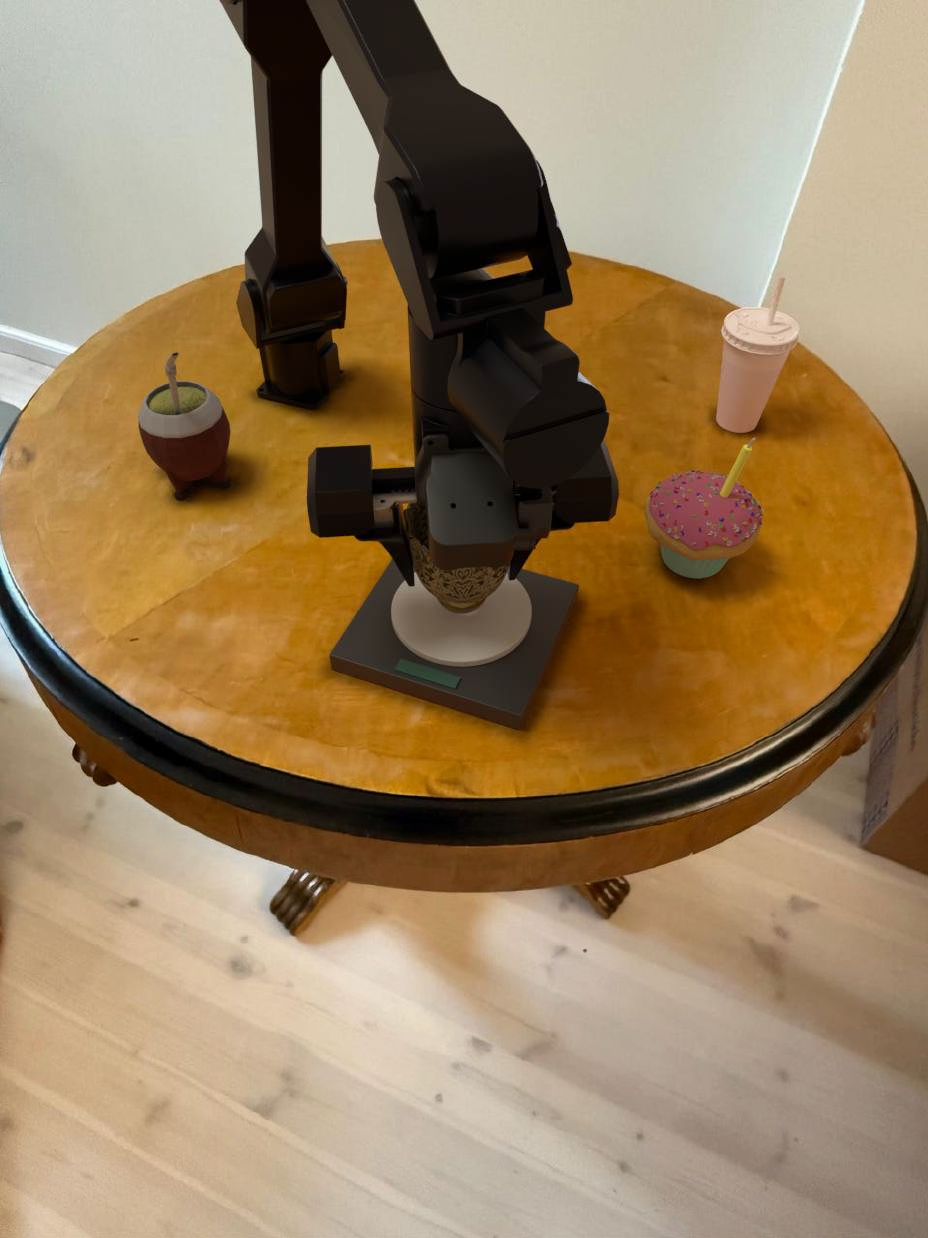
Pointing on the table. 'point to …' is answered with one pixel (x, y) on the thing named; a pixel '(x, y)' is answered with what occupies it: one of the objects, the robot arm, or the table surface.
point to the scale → (459, 643)
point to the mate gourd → (186, 433)
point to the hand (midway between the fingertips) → (460, 579)
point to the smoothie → (752, 361)
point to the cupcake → (703, 519)
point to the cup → (450, 587)
